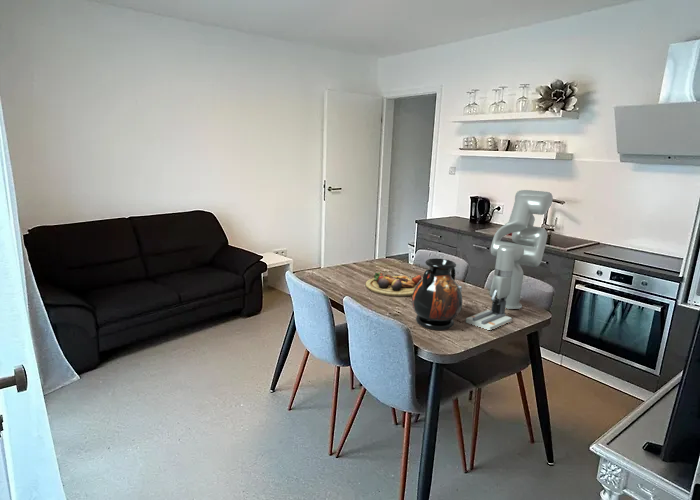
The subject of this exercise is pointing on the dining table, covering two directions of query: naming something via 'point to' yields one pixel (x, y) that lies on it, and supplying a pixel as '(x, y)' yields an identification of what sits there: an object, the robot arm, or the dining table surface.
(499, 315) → the fader console
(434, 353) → the dining table surface
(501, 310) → the fader knob
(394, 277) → the wooden plate with food
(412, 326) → the dining table surface
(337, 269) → the dining table surface
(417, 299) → the amphora vase
